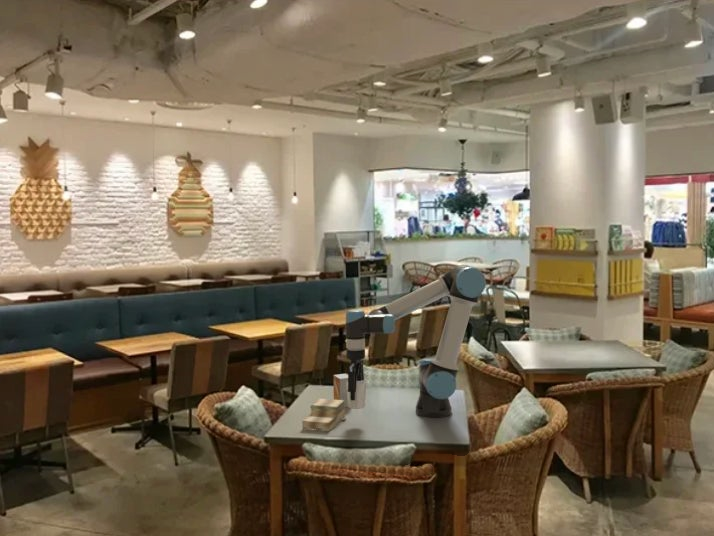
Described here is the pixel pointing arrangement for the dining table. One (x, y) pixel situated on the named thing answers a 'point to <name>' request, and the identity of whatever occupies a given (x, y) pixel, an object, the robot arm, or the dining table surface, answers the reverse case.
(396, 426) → the dining table surface
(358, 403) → the white cup
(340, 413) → the riser
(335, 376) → the small box
